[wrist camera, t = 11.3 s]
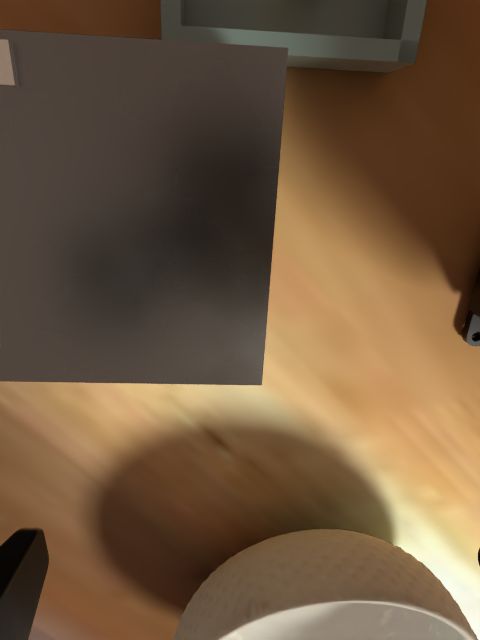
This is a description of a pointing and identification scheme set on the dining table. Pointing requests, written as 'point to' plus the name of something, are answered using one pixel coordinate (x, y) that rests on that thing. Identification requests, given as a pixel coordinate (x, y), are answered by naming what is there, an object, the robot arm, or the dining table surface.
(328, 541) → the cereal bowl
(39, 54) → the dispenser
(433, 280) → the dining table surface
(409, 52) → the tray
